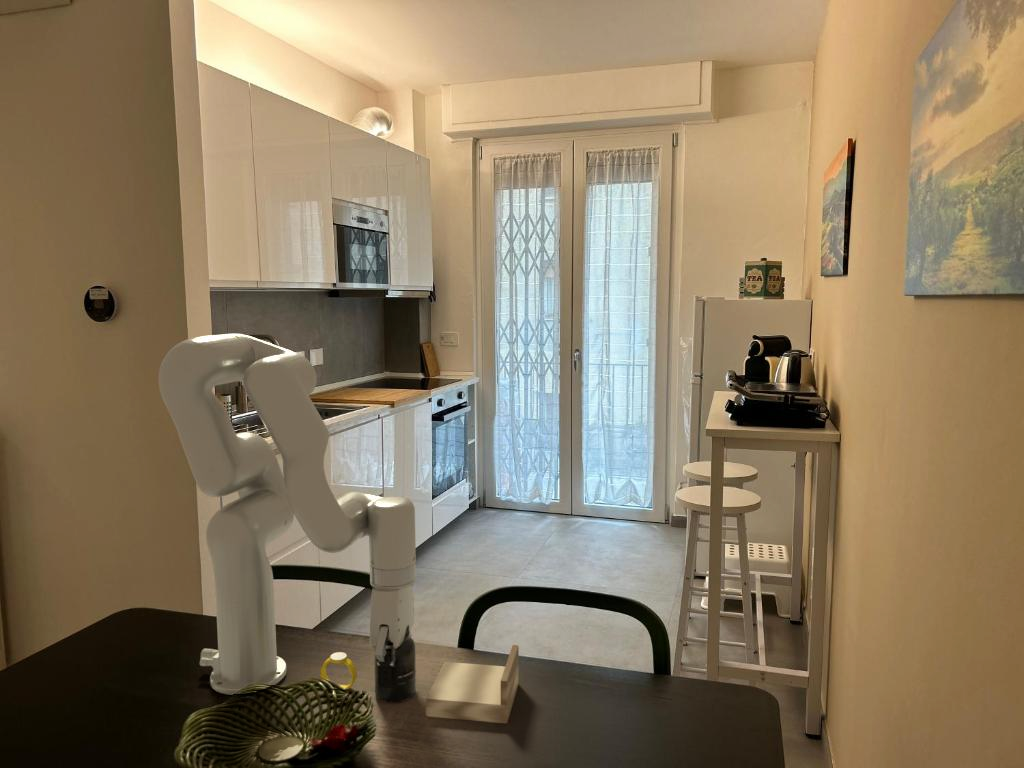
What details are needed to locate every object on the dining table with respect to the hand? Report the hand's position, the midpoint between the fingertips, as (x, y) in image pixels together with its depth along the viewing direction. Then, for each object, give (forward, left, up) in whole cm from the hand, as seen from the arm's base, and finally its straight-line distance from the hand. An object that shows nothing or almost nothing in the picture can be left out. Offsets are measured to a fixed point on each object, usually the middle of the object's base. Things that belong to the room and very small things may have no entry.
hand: (395, 674), depth 125 cm
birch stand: (+13, 0, -3) cm, 14 cm away
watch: (-10, 0, -4) cm, 11 cm away
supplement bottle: (0, 0, -4) cm, 4 cm away
